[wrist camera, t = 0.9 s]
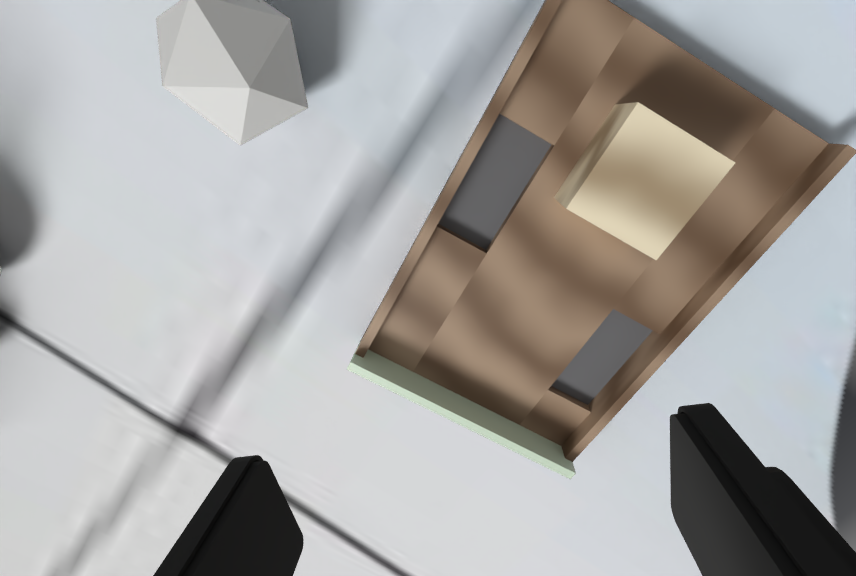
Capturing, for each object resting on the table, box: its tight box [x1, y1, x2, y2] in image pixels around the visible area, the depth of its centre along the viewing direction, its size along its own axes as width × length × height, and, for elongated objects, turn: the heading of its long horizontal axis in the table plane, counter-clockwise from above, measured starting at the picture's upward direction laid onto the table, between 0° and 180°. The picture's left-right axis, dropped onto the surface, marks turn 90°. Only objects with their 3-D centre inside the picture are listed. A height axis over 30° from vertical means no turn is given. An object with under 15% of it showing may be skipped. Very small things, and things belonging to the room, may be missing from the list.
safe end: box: [347, 345, 576, 479], centre depth 37 cm, size 1×22×4 cm, turn 61°
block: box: [554, 102, 735, 260], centre depth 27 cm, size 7×7×4 cm
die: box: [156, 0, 308, 146], centre depth 26 cm, size 8×9×10 cm
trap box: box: [355, 0, 856, 462], centre depth 32 cm, size 30×22×3 cm
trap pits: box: [438, 114, 653, 405], centre depth 34 cm, size 17×20×1 cm
